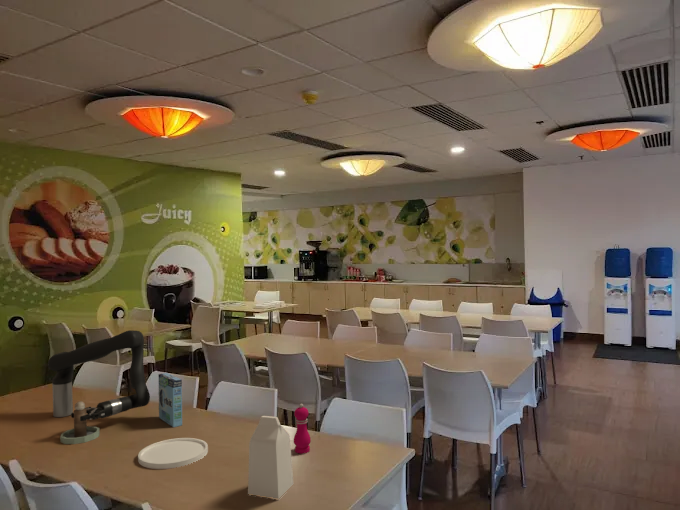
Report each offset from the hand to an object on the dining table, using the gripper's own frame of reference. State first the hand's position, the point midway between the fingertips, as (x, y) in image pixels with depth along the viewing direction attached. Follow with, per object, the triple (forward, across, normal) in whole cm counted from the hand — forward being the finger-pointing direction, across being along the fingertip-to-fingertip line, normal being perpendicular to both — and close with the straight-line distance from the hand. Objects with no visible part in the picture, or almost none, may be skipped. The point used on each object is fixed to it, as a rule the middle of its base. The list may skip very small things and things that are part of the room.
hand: (75, 417), depth 236 cm
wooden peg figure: (-2, 0, +9) cm, 9 cm away
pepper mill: (-47, +98, +10) cm, 109 cm away
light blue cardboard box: (-39, +17, +10) cm, 44 cm away
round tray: (-2, 0, +10) cm, 10 cm away
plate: (-14, +55, +11) cm, 58 cm away
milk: (-14, +112, +10) cm, 113 cm away
